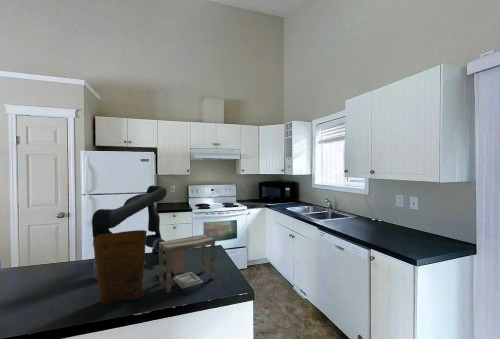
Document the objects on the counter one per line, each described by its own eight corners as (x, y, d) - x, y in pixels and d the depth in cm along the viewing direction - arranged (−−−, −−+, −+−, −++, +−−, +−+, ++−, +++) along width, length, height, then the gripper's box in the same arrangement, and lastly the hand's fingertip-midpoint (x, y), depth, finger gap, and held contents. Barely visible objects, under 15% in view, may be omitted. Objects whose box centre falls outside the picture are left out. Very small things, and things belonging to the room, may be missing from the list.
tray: (172, 279, 119) (172, 276, 119) (192, 274, 125) (192, 271, 125) (182, 288, 110) (182, 285, 110) (202, 282, 116) (202, 279, 116)
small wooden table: (159, 283, 115) (159, 242, 115) (203, 270, 129) (203, 234, 129) (167, 293, 106) (167, 248, 106) (215, 279, 119) (215, 239, 120)
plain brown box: (169, 270, 130) (169, 247, 130) (179, 268, 133) (179, 245, 133) (174, 274, 124) (174, 251, 124) (184, 272, 127) (184, 249, 127)
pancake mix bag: (145, 300, 100) (145, 231, 100) (91, 307, 95) (92, 234, 95) (147, 292, 106) (147, 227, 106) (97, 298, 101) (97, 230, 101)
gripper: (148, 241, 146) (156, 248, 133) (172, 237, 155) (182, 244, 142) (148, 254, 146) (156, 262, 133) (172, 249, 155) (182, 257, 142)
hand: (169, 253), depth 137 cm, fingers open, 8 cm apart
